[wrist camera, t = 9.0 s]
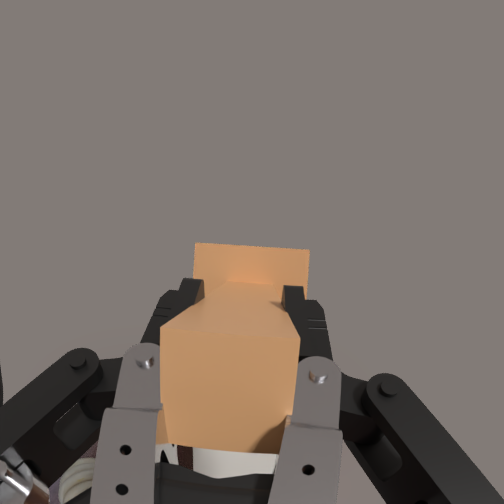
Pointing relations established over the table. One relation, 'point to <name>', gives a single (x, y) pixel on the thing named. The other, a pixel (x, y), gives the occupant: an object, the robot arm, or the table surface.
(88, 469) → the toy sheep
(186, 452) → the table surface
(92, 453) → the table surface
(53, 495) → the table surface
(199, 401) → the tan piece
